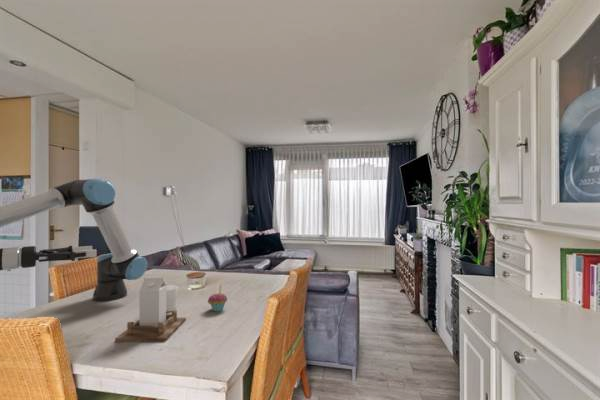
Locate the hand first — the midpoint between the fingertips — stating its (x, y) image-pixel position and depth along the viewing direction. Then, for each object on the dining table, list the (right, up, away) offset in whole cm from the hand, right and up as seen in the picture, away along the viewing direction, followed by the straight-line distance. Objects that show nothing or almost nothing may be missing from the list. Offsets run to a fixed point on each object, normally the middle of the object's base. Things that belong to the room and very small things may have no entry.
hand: (94, 250), depth 114 cm
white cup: (+22, -30, +17) cm, 41 cm away
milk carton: (+27, -29, -5) cm, 40 cm away
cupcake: (+45, -30, +16) cm, 57 cm away
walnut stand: (+27, -30, -5) cm, 40 cm away
